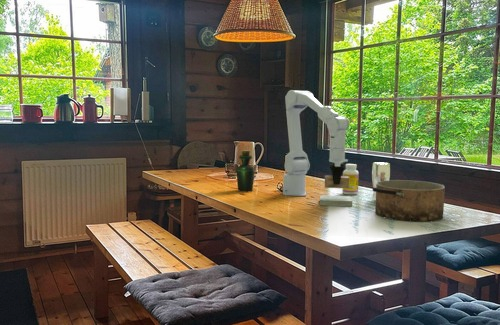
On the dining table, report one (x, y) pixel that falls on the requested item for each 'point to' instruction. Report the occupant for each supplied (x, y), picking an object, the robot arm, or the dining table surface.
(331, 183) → the pallet
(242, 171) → the potion bottle
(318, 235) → the dining table surface
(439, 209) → the cooking pot
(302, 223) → the dining table surface
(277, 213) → the dining table surface
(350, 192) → the supplement bottle
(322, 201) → the dock
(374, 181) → the beer glass
